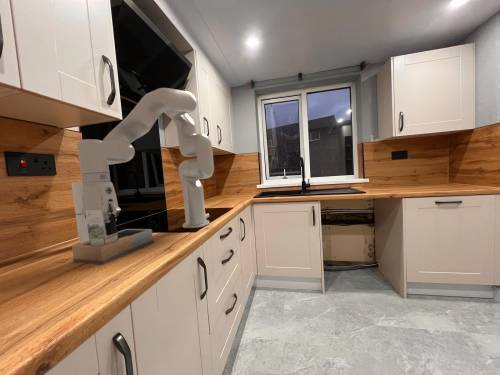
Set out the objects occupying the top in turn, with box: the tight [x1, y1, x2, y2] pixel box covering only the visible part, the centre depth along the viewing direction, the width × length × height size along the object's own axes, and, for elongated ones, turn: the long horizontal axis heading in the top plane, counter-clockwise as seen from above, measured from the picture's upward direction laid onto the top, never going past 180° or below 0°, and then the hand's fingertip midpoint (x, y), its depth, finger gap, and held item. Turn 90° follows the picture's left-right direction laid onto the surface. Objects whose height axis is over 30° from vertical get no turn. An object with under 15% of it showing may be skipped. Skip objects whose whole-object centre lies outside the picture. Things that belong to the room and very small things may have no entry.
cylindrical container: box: [71, 181, 90, 244], centre depth 89 cm, size 7×7×25 cm
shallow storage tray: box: [71, 228, 154, 265], centre depth 76 cm, size 20×13×5 cm, turn 161°
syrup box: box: [85, 210, 118, 246], centre depth 72 cm, size 6×6×14 cm
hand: (103, 233), depth 72 cm, fingers closed on syrup box, 6 cm apart
